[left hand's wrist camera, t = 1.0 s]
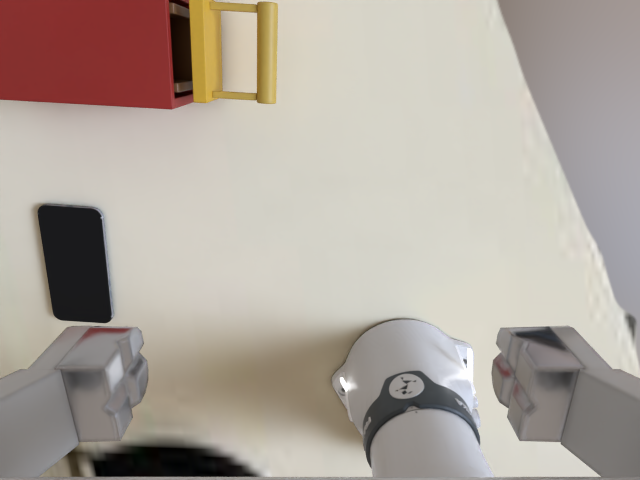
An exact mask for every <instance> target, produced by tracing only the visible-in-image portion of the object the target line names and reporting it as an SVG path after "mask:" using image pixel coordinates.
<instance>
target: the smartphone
mask: <svg viewBox="0 0 640 480" xmlns="http://www.w3.org/2000/svg"><path fill="white" fill-rule="evenodd" d="M38 219H39V225H40V231H41V238H42V244H43V251H44V257H45V263H46V270H47V276H48V283H49V289H50V296H51V302H52V308H53V314H54V316H55V317H56V318H57V319H59V320H64V321H80V322H95V323H107V322H109V321H110V320H111V319H112V318H113V305H112V295H111V285H110V275H109V265H108V255H107V246H106V236H105V226H104V216H103V214H102V212H101V211H100V210H99V209H97V208H95V207H83V206H69V205H55V204H45V205H43V206H41V207H40V208H39V209H38Z"/></svg>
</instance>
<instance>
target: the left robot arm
mask: <svg viewBox="0 0 640 480" xmlns="http://www.w3.org/2000/svg"><path fill="white" fill-rule="evenodd" d="M143 344H144V341H143V336H142V332H141V330H140V329H139V328H138V327H112V326H94V327H93V326H71V327H67V328H66V329H65V330H64V331H63V332H62V333H61V334H60V335H59V336H58V338H57V339H56V340H55V341H54V342H53V343H52V344H51V345H50V346H49V347H48V348H47V349H46V350H45V351H44V352H43V353H42V354H41V355H40V356H39V358H38V359H37V360H36V361H35V362H34V363H33V364H32V365H31V366H30V367H29V368H28V369H20V370H18V371H15V372H13V373H11V374H9V375H7V376H5V377H3V378H0V480H640V378H637V377H635V376H633V375H631V374H629V373H627V372H625V371H622V370H620V369H612V368H611V367H610V366H609V365H608V364H607V363H606V362H605V361H604V360H603V359H602V358H601V356H600V355H599V354H598V353H597V352H596V351H595V350H594V349H593V348H592V347H591V346H590V345H589V344H588V343H587V342H586V341H585V340H584V338H583V337H582V336H581V335H580V334H579V333H578V332H577V331H576V330H575V329H574V328H572V327H570V326H546V327H512V328H500V330H499V332H498V335H497V341H496V344H497V346H498V348H499V349H500V351H501V353H500V354H499V355H498V356H497V357H496V358H495V359H494V360H493V365H492V384H493V388H494V391H495V394H496V396H497V398H498V401H499V402H500V403H501V404H503V405H504V406H506V407H507V408H509V410H508V415H507V418H508V420H509V422H510V424H511V425H512V427H513V429H514V431H515V433H516V435H517V437H518V439H519V441H545V442H561V444H562V445H563V446H564V447H565V448H567V449H568V450H569V451H570V452H571V453H573V454H574V455H575V456H576V457H578V458H579V459H580V460H581V461H583V462H584V463H585V464H586V465H588V466H589V467H590V468H591V469H593V470H594V471H595V472H596V473H597V474H599V475H600V476H601V477H494V475H493V473H492V471H491V469H490V467H489V465H488V463H487V461H486V459H485V457H484V455H483V453H482V450H481V448H480V436H479V433H478V430H477V428H479V427H480V417H479V414H478V411H477V410H476V409H472V408H476V407H478V400H477V397H476V396H475V395H474V394H475V388H474V386H473V366H474V352H473V349H472V347H471V346H470V345H469V344H468V343H465V342H462V341H459V340H455V339H451V338H450V337H448V336H447V335H445V334H444V333H443V332H442V331H440V330H439V329H438V328H436V327H434V326H432V325H430V324H428V323H425V322H422V321H418V320H410V319H400V320H392V321H388V322H384V323H382V324H379V325H377V326H375V327H373V328H371V329H369V330H368V331H366V332H365V333H364V334H363V335H362V336H360V338H359V339H358V340H357V341H356V342H355V343H354V345H353V346H352V348H351V350H350V352H349V355H348V357H347V360H346V362H345V363H344V365H343V366H342V367H340V368H339V369H338V370H337V371H336V372H335V373H334V375H333V376H332V379H331V381H332V386H333V388H334V390H335V391H336V393H337V394H338V396H339V398H340V399H341V401H342V403H343V404H344V406H345V407H346V409H347V411H348V416H349V420H350V421H351V422H353V423H354V425H355V426H356V428H357V430H358V431H359V432H360V434H361V435H362V436H363V445H364V451H365V452H366V457H367V461H368V463H369V465H370V467H371V469H372V475H373V477H39V476H40V475H41V474H43V473H44V472H45V471H46V470H48V469H49V468H50V467H51V466H53V465H54V464H55V463H56V462H58V461H59V460H60V459H61V458H63V457H64V456H65V455H66V454H67V453H69V452H70V451H71V450H72V449H74V448H75V447H76V446H77V445H79V442H95V441H121V439H122V437H123V435H124V433H125V431H126V429H127V427H128V425H129V424H130V422H131V420H132V418H133V415H132V410H131V408H133V407H134V406H136V405H137V404H139V403H140V402H141V400H142V398H143V396H144V394H145V392H146V387H147V383H148V364H147V360H146V359H145V358H144V357H143V356H142V355H141V354H140V353H139V351H140V349H141V348H142V346H143ZM463 359H466V360H465V361H463ZM343 387H344V389H343ZM473 395H474V396H473Z"/></svg>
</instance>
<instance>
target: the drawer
mask: <svg viewBox="0 0 640 480" xmlns="http://www.w3.org/2000/svg"><path fill="white" fill-rule="evenodd" d="M221 11H237V12H254V13H257V93H243V92H225V91H222V53H221ZM169 14H170V31H171V48H172V65H173V82H174V92H176V93H178V92H182V91H187V90H191V89H193V102H196V103H208V102H210V101H213V100H216V99H218V98H223V99H241V100H257V102H258V103H263V104H275V103H276V75H277V23H278V4H277V3H273V2H258V3H257V5H256V4H240V3H223V2H215V1H213V0H189V9H187V8H185V7H182V6H180V5H177V4H175V3H169Z"/></svg>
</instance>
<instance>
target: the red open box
mask: <svg viewBox="0 0 640 480" xmlns="http://www.w3.org/2000/svg"><path fill="white" fill-rule="evenodd" d="M169 3H175V4H177V5H180V6H182V7H185V8H187V9H189V0H0V100H17V101H34V102H52V103H70V104H87V105H105V106H122V107H140V108H158V109H175V108H177V107H180V106H183V105H186V104H189V103H192V102H193V89H191V90H187V91H182V92H178V93H176V92H174V82H173V65H172V48H171V31H170V14H169Z"/></svg>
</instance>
